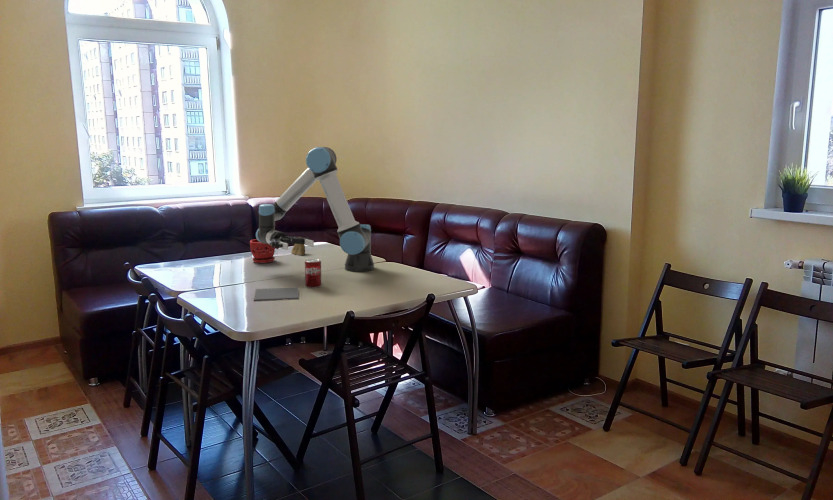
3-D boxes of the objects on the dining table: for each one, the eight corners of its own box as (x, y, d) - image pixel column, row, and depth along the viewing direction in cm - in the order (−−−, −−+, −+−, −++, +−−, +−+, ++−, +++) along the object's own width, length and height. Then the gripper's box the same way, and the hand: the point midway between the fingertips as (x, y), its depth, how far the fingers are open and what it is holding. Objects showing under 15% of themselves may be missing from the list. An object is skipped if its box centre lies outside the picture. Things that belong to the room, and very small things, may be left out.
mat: (297, 288, 273) (297, 287, 273) (298, 299, 255) (298, 297, 255) (255, 290, 269) (255, 289, 269) (254, 300, 252) (253, 299, 252)
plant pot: (264, 258, 340) (263, 237, 338) (280, 261, 332) (280, 239, 330) (245, 262, 329) (244, 240, 327) (261, 265, 322) (260, 242, 320)
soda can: (306, 284, 280) (305, 259, 278) (322, 284, 281) (321, 258, 279) (304, 288, 273) (303, 262, 271) (321, 288, 274) (320, 262, 272)
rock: (309, 251, 348) (310, 246, 358) (300, 240, 346) (300, 235, 355) (294, 262, 349) (295, 257, 359) (284, 251, 346) (285, 246, 356)
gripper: (299, 244, 305) (323, 250, 290) (253, 249, 289) (276, 256, 273) (299, 229, 304) (323, 234, 289) (253, 233, 288) (275, 239, 272)
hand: (300, 245), depth 281 cm, fingers open, 13 cm apart
